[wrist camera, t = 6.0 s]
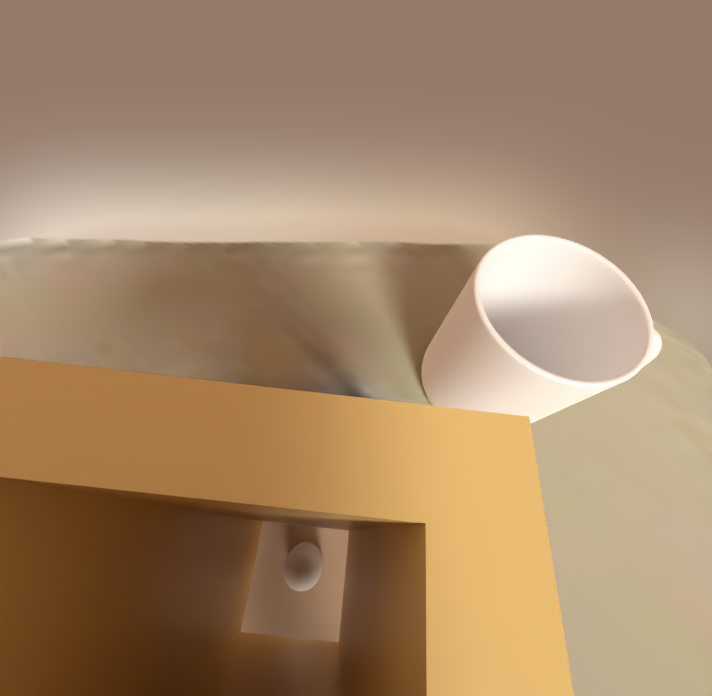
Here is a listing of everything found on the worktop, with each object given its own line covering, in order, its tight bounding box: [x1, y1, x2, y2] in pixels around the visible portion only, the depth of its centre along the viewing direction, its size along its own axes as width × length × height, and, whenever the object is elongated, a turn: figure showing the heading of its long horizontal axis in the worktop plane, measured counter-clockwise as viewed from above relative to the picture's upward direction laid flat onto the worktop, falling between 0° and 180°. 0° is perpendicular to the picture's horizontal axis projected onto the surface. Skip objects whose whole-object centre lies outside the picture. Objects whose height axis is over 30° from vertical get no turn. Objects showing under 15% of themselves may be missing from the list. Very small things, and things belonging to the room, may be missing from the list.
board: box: [241, 521, 349, 642], centre depth 16 cm, size 23×11×4 cm, turn 96°
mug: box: [421, 234, 662, 423], centre depth 20 cm, size 12×8×10 cm
